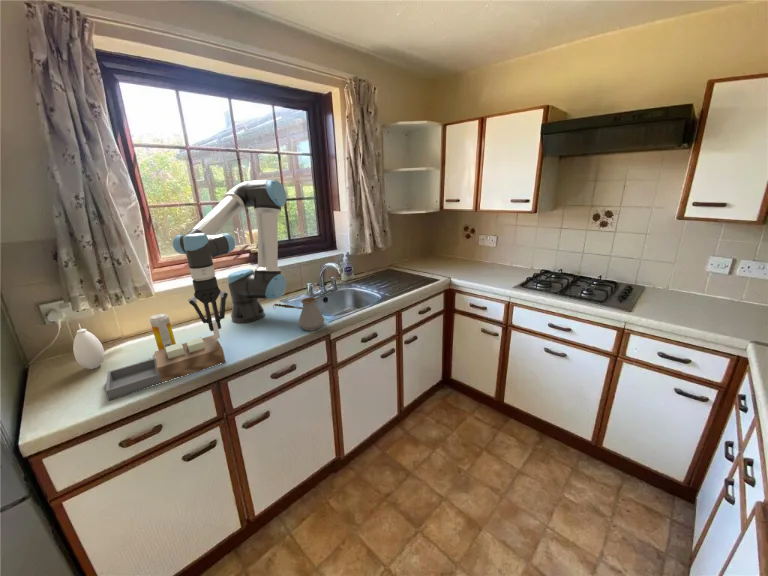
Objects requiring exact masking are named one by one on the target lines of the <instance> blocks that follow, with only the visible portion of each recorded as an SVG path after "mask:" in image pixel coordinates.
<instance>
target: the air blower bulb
mask: <svg viewBox="0 0 768 576" xmlns="http://www.w3.org/2000/svg"><path fill="white" fill-rule="evenodd" d="M77 324H78V327H79V329H78V330H77V331H76V335H75V336H74V339H73V345H72V346H73V347H72V348H73V349H72V350H73V355H74V358H75V360H76V362H77V363H78V365H80V366H81V367H83V368H84V369H89V370H92V369H93V370H95V369H97V368H99V367H100V366H101V364H102V363H104V359H105V350H104V346H103V344H102V342H101V341H100V340H99V339H98V337H97V336H96V335H94V334H93V333H92V332H90V331H88V330H87V328H82V326H81V325H80V323H79V322H78V323H77ZM94 368H95V369H94Z"/></svg>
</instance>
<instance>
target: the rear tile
mask: <svg viewBox="0 0 768 576" xmlns="http://www.w3.org/2000/svg"><path fill="white" fill-rule="evenodd" d="M202 338H203V337H202V336H201V337H200V336H199V337H196V338H192V339H189V340H186V341H185V343H187V347H188V349H189V352H193V351H197V350H200V349H203V348H205V345H204V341H203V340H202Z"/></svg>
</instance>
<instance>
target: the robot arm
mask: <svg viewBox="0 0 768 576" xmlns="http://www.w3.org/2000/svg"><path fill="white" fill-rule="evenodd" d="M286 203H287V192H286V190H285V188H284V186H283V184H282V183H281V182H280V181H278V180H276V179H259V180H246V181H243V182H241V183H238V184H237V185H235V186H234V187H232V188H231V189H230V190H229V191H228V192H226V193H225V194H224V195H223V199H222V200H221V201H220V202H219V203H218V204H217V205H216V206H215V207H213V209H212V210H210V211H209V212H208V214H206V215H205V216H204V217H203V218H202V219H201V220H200V221H199V222H198V223H196V224H195V225H194V226H193V228H191V229H190V230H189V231H188V232H187V233H185V234H184V233H181V234H178V235H176V236H175V237H173V240H172V247H173V249H174V251H175V252H177V253H178V254H181V255H185V256H186V260H187V263H188V268H189V271H190V275H191V279H192V285H193V289H194V293H193V297H192V298H189V299H188V300H187V301H188V303H189V304H190V305H191V306H193V308H194V310H195V311H196V314H197V315H198V317H199V319H200V320H201V322H202V324H207V325H208V327H209V331H211V332H213V335H214V336H215V338H216V339H217V340H219V339H221V334H220V331H219V330H221V329H222V325H221V320H223V319H225V316H226V304H227V303H226V302H227V301H226V300H227V298H228V297H229V296H228V295H229V294H228V292H226V291H222V290H221V289H220V287H219V285H218V281H217V277H216V272H215V271H216V270H215V266H214V261H213V258H217V257H219V256H222V255H228V254H229V253H231V252H233V251H234V249H236V241H235V239H234V237H233V235H231V234H230V233H226V232H224V233H219V232H221V230H222V229H223V228H224V227H225V226H226V225H227V224H228V223H229V222H230V221H231V220H232V219H233V218H235V217H234V216H236V215H237V214H238V213H241V212H243V211H244V210H245V209H248V208H253V209H254V211H255V212H256V214H257V266H256V268H255V269H252V268H247V269H241V270H237V271H234V272H232V273H230V274H228V276H227V284H228V288H229V293H230V296H231V297H230V298H231V302H232V306H231V307H232V308H231V314H230V318H231V321H232V322H233V323H236V324H237V323H238V324H245V323H252V322H255V321H257V320H260V319H261V318H263V317H264V316H265V309H264V307H263V305H262V303H261V302H260V300H259V299H263V300H264V299H265V300H278V299H280V298H281V297H282V296H283V294H284V293H285V292H286V288H287V279H286V276H285V275H284V274H282V269H281V268H280V267H279V265H278V261H279V259H278V254H279V253H278V251H279V248H278V245H279V244H278V243H279V242H278V241H279V240H278V239H279V238H278V236H279V235H278V232H279V231H278V229H279V227H278V223H279V221H278V218H279V217H278V216H279V214H280V213H281V212H282V207H284V206H285V205H286ZM218 233H219V234H218ZM219 297H220V306H219V309H218V305H217V299H218V298H219ZM197 300H198V301H199V302H201V303H202V304H203V307H204V313H205V316H206V317H205V316H204V314H203V312H202V311H201V309H200V308H199V306H198V304H197V303H198V301H197ZM210 303H211V308H212V312H213V315H214V319H213V320H212V314H211V310H210V306H209V304H210Z"/></svg>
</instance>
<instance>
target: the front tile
mask: <svg viewBox="0 0 768 576" xmlns="http://www.w3.org/2000/svg"><path fill="white" fill-rule="evenodd" d="M182 344H183V343H182V342H178V343H176V344H174V345H171V346H167V347H165V348H166V352H167V355H168V359H169V358H173V357H176V356H180V355H183V354H185V352H184V349H183V346H182Z"/></svg>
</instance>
